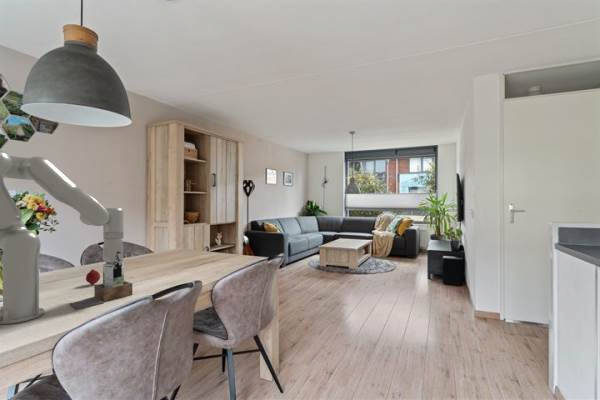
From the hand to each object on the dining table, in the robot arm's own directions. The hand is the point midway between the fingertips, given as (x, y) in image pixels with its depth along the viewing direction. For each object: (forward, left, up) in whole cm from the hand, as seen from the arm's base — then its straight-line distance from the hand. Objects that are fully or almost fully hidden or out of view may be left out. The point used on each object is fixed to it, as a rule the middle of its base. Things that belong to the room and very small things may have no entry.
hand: (113, 275), depth 130 cm
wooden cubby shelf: (0, 0, -9) cm, 9 cm away
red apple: (+1, +27, -9) cm, 28 cm away
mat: (-11, -3, -9) cm, 15 cm away
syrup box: (0, 0, -9) cm, 9 cm away
